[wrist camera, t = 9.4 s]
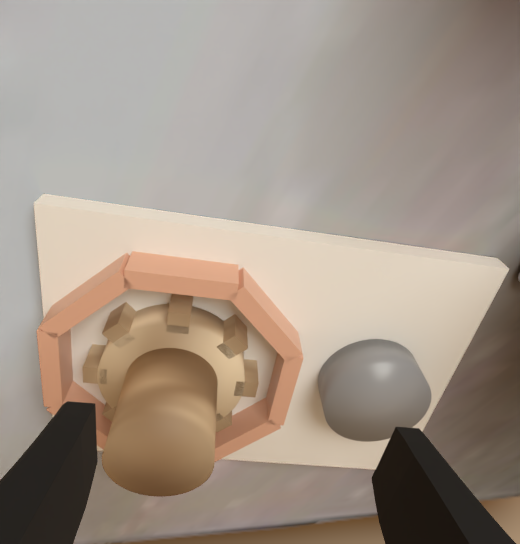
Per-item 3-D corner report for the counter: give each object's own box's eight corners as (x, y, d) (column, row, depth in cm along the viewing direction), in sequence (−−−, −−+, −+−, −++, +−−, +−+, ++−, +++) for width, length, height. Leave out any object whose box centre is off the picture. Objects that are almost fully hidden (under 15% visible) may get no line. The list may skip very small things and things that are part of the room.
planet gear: (270, 302, 19) (282, 397, 14) (243, 421, 23) (245, 527, 18) (90, 282, 18) (41, 376, 13) (93, 409, 22) (55, 518, 17)
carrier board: (497, 257, 20) (534, 291, 17) (395, 456, 27) (411, 500, 24) (43, 193, 17) (12, 222, 15) (61, 432, 24) (42, 479, 22)
